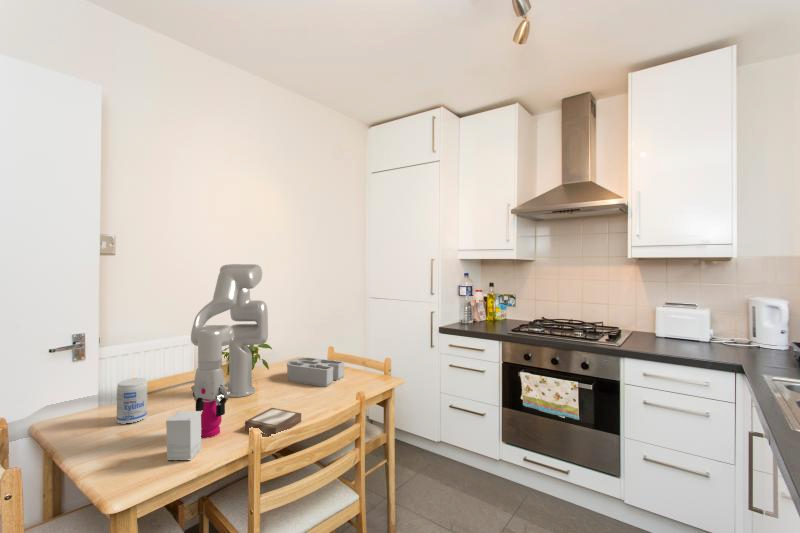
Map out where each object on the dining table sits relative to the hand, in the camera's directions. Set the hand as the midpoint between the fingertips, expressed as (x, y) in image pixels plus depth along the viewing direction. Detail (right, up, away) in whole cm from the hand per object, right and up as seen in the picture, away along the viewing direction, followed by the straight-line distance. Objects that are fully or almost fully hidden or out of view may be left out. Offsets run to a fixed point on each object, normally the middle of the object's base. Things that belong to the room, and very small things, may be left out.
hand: (210, 413), depth 135 cm
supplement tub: (-35, -7, +12) cm, 38 cm away
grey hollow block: (+22, -7, +63) cm, 67 cm away
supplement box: (-1, -8, -15) cm, 17 cm away
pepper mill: (0, -8, 0) cm, 7 cm away
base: (+20, -7, +7) cm, 22 cm away
